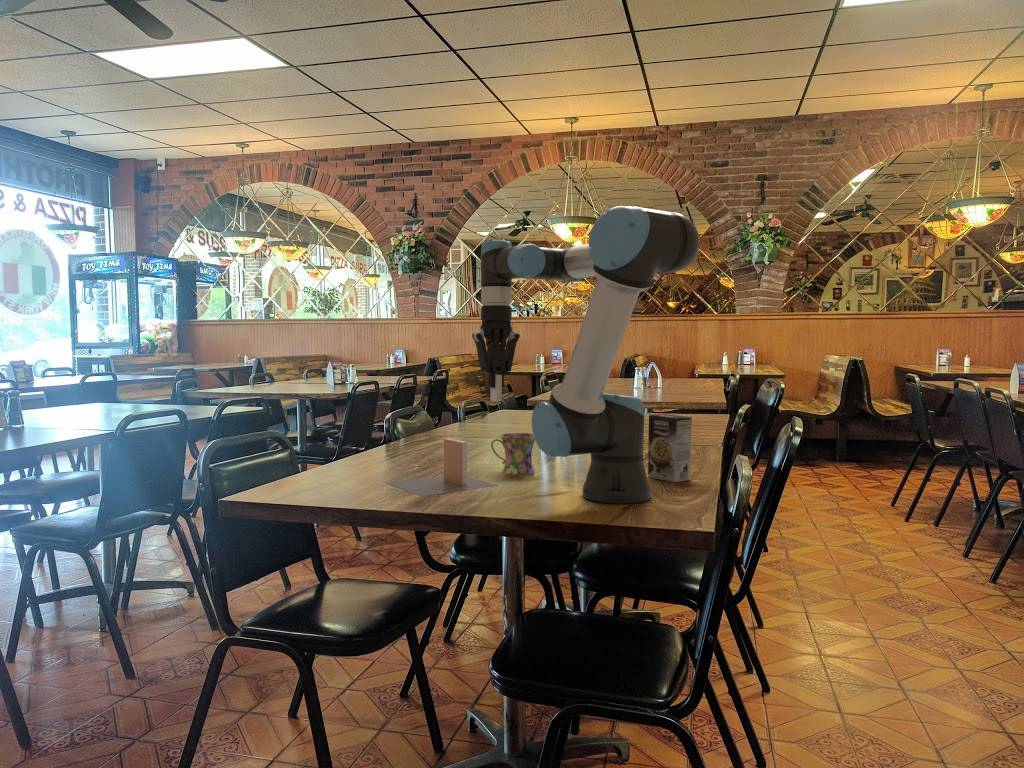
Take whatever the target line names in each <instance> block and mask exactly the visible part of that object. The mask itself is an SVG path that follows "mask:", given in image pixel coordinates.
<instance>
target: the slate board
mask: <svg viewBox="0 0 1024 768" xmlns="http://www.w3.org/2000/svg"><path fill="white" fill-rule="evenodd" d="M386 484H387V485H389V486H393V487H395V488H399V489H401V490H404V491H406V492H409V493H412V494H415V495H418V496H419V497H425V496H426V497H427V496H433V495H434V496H435V495H440V494H447V493H455V492H456V493H457V492H462V491H467V490H475V489H482V488H483V489H484V488H489V487H496V486H497V487H498V485H497V484H493V483H491V482H488V481H483V480H479V479H477V478H475V477H474V478H473V477H470V476H467V485H459V484H456V483H452V482H449V481H446V480H444V474H442V475H438V476H437V475H435V476H427V477H420V478H412V479H405V480H404V479H403V480H397V481H396V480H395V481H389V482H388V481H387V482H386Z"/></svg>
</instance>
